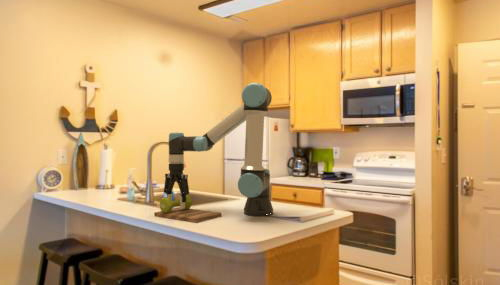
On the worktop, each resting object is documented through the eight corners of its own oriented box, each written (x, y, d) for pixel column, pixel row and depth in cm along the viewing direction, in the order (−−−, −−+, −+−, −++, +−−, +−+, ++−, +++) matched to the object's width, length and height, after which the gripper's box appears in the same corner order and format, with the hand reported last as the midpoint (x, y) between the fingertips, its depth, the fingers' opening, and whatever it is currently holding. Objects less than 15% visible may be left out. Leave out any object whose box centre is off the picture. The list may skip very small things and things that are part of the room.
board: (221, 216, 182) (221, 212, 182) (196, 222, 167) (196, 218, 167) (180, 210, 198) (180, 207, 198) (154, 216, 183) (154, 212, 183)
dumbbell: (167, 213, 178) (167, 198, 178) (157, 211, 183) (157, 197, 183) (193, 209, 190) (193, 195, 190) (183, 207, 196) (183, 193, 196)
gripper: (196, 163, 184) (196, 208, 184) (167, 162, 196) (167, 204, 196) (186, 163, 178) (186, 211, 178) (156, 162, 190) (156, 206, 190)
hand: (176, 207), depth 187 cm, fingers closed on dumbbell, 8 cm apart
